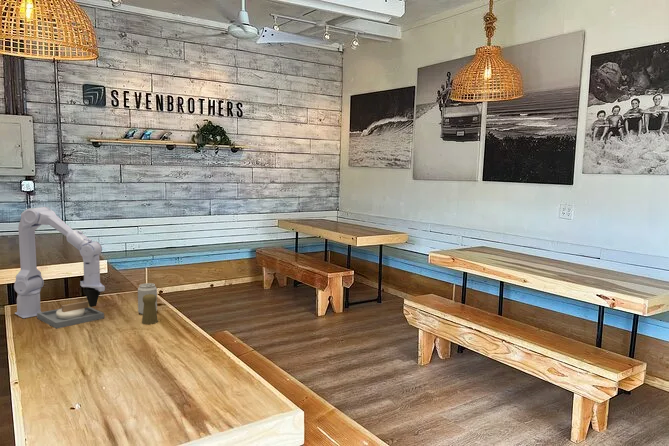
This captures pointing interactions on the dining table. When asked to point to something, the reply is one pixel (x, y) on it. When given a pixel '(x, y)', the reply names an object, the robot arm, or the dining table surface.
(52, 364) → the dining table surface
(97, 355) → the dining table surface
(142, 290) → the can
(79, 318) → the slate tray
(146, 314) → the cork
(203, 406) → the dining table surface
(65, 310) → the dial
